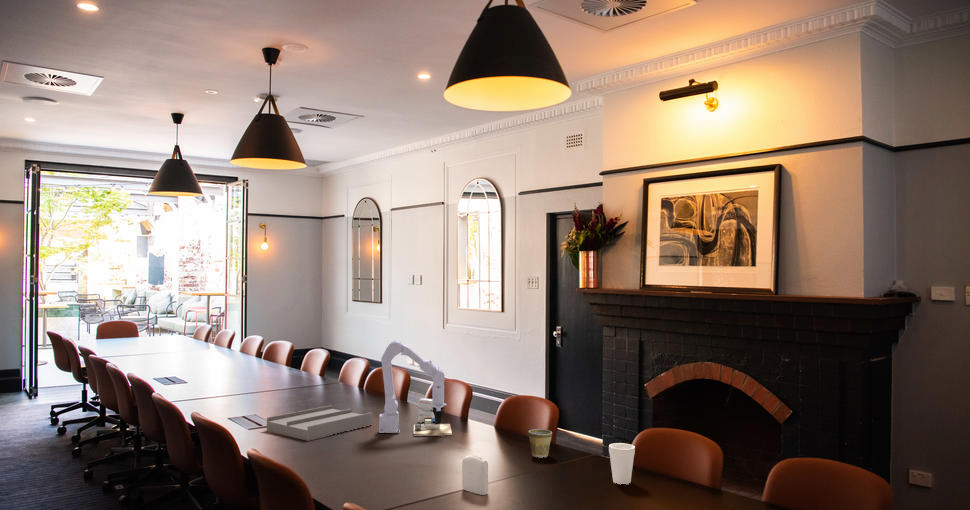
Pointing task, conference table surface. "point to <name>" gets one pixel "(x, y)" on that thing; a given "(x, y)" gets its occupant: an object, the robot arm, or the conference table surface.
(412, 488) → the conference table surface
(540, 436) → the ceramic cup
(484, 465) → the white upright slab
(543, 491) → the conference table surface
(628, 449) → the foam cup
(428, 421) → the block
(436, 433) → the base
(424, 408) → the ink box
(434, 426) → the lever
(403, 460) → the conference table surface
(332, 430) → the desk organizer
